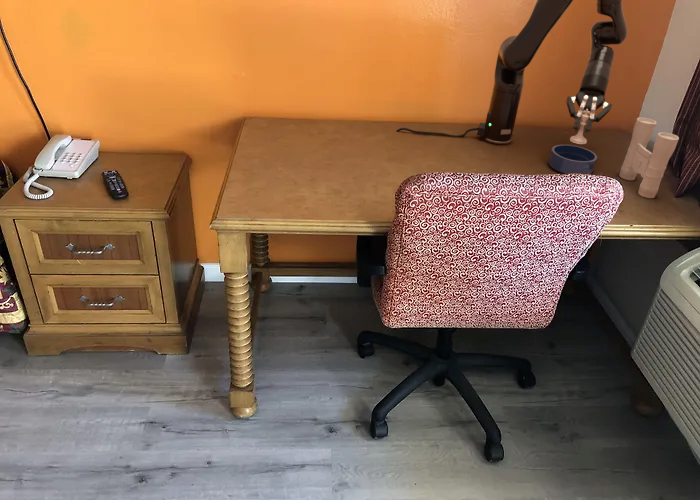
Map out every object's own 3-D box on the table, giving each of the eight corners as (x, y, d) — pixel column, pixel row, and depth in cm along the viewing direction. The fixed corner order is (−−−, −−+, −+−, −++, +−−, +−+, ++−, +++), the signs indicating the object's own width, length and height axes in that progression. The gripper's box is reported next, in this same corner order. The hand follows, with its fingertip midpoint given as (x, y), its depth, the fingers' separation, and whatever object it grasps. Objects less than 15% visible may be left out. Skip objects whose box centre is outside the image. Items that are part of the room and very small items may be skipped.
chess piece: (587, 145, 180) (597, 112, 175) (570, 142, 181) (579, 110, 176) (585, 139, 184) (594, 107, 179) (569, 137, 185) (577, 105, 180)
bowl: (547, 172, 183) (551, 156, 181) (548, 156, 194) (552, 141, 192) (593, 180, 180) (598, 165, 178) (591, 164, 191) (596, 149, 189)
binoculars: (614, 172, 187) (633, 116, 177) (631, 173, 187) (650, 117, 178) (642, 198, 172) (664, 139, 163) (660, 199, 173) (683, 140, 163)
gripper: (573, 69, 181) (558, 120, 177) (622, 77, 177) (607, 130, 173) (570, 82, 188) (556, 132, 185) (617, 90, 184) (603, 141, 180)
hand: (581, 131), depth 179 cm, fingers closed on chess piece
